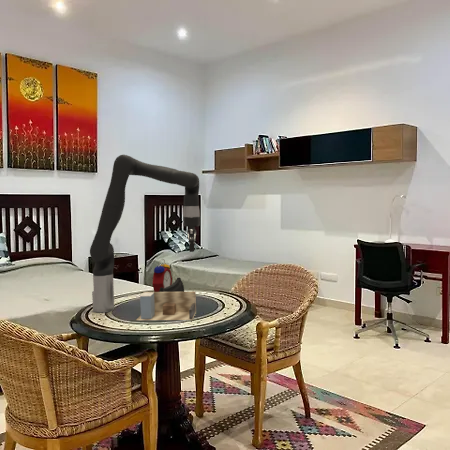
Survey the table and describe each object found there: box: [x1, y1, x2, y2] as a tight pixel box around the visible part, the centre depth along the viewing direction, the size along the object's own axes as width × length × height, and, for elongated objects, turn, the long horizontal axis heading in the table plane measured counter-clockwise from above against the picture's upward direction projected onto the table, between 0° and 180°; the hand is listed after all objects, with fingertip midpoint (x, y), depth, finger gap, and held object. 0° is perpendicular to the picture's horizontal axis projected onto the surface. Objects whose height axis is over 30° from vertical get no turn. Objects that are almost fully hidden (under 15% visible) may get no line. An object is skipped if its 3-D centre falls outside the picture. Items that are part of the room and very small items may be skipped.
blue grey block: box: [139, 292, 155, 319], centre depth 195 cm, size 5×7×10 cm, turn 176°
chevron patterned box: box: [135, 291, 197, 323], centre depth 197 cm, size 24×15×10 cm, turn 87°
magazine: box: [159, 277, 185, 292], centre depth 224 cm, size 17×3×30 cm
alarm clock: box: [149, 258, 173, 292], centre depth 247 cm, size 15×9×20 cm, turn 167°
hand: (192, 250), depth 208 cm, fingers open, 8 cm apart
